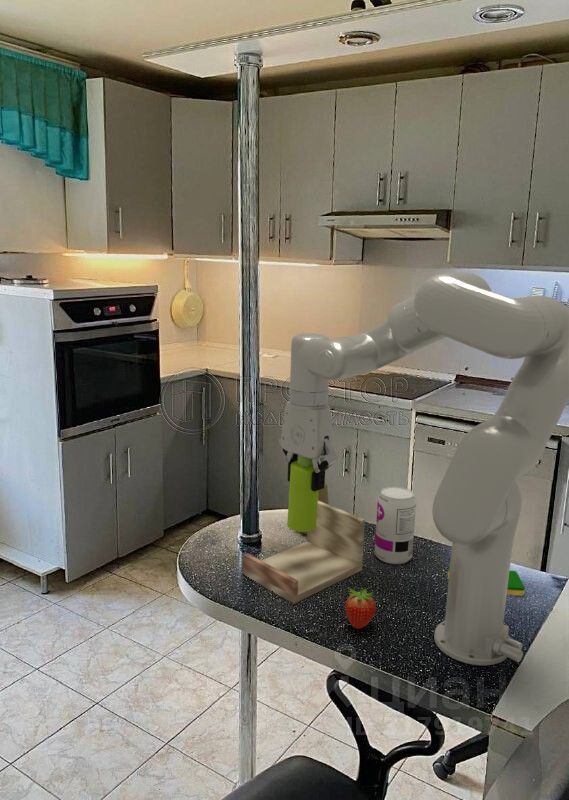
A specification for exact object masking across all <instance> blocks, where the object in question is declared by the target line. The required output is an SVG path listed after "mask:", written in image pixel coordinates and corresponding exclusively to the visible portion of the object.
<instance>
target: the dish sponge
mask: <svg viewBox="0 0 569 800" xmlns="http://www.w3.org/2000/svg"><path fill="white" fill-rule="evenodd" d="M449 572H450V566H448V567H447V580H449ZM525 589H526V587H525V585H524V583H523V582H522V579H521V578H520V576H519V574H518V572H517V571H516V570H509V578H508V587H507V594H513V595H514V594H515V595H523V594H524V595H525Z"/></svg>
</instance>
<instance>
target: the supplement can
mask: <svg viewBox="0 0 569 800" xmlns="http://www.w3.org/2000/svg"><path fill="white" fill-rule="evenodd" d="M376 506H377V507H376V521H375V522H376V524H375V536H374V537H375V540H374V541H375V542H374V556H376V557H377V558H378V560H380V561H382V562H383V563H386V564H391V565H401V564H406V563H408V561H410V560H411V559H412V558H413V552H414V551H413V550H414V549H413V548H414V536H415V524H416V513H417V511H416V510H417V499H416V497H415V494H414V492H413V491H412V490H410V489H408V488H405V487H402V486H387V487H384V488H382V489H381V491H380V493H379V494H378V496H377V505H376Z"/></svg>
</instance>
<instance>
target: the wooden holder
mask: <svg viewBox="0 0 569 800" xmlns="http://www.w3.org/2000/svg"><path fill="white" fill-rule="evenodd" d="M328 504H329V503H328ZM328 504H325V503H323V502H320V501H318V506H317V520H316V528H315V529H314V530H312V531H309V532H307V535H306V536H307V537H306V539H307V540H306V541H305V542H302V543H300V544H298V545H294V546H293V547H290V548H288V549H286V550H282V551H281V552H279V553H276V554H273V555H270V556H269V557H266V558H264V559H261V560H260V559H259V558H257V557H255V556H254V555H251V554H250V553H248V552H245V553H243V554H242V575H243V574H244V575H245V577H246V576H247V578H248V577H249V578H248V579H250V580H251V579H252V581H253V580H254V581H253V582H255V581H256V582H255V583H257V584H258V583H259V585H260V584H261V585H260V586H262V587H264V588H265V589H267V590H269V591H270V592H272V591H273V593H274V594H276V595H278V596H279V597H281V598H283V599H285V600H286V601H288V602H290V603H291V604H294V605H295V604H296V603H298V602H301V601H303V600H304V599H307V598H308V597H312V596H313V595H314V594H316V593H318V592H321V591H322V590H325V589H327V588H329V587H331V586H333V585H335V584H337V583H339V582H342V581H344V580H345V579H347V578H350V577H351V576H353V575H356V574H357V573H359V572H361V571H363V557H364V544H365V543H364V541H365V540H364V539H365V523H366V521H365V518H363V517H360V516H358V515H355V514H353V513H349V512H347V511H345V510H343V509H340V508H337V507H335V506H332V505H330V504H329V505H328ZM244 575H243V576H244Z"/></svg>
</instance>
